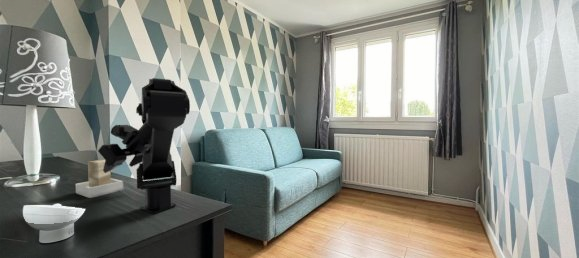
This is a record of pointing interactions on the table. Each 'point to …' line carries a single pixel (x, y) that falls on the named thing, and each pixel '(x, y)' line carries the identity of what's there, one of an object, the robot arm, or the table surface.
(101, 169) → the birch block
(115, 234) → the table surface
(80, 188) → the tray
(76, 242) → the table surface
